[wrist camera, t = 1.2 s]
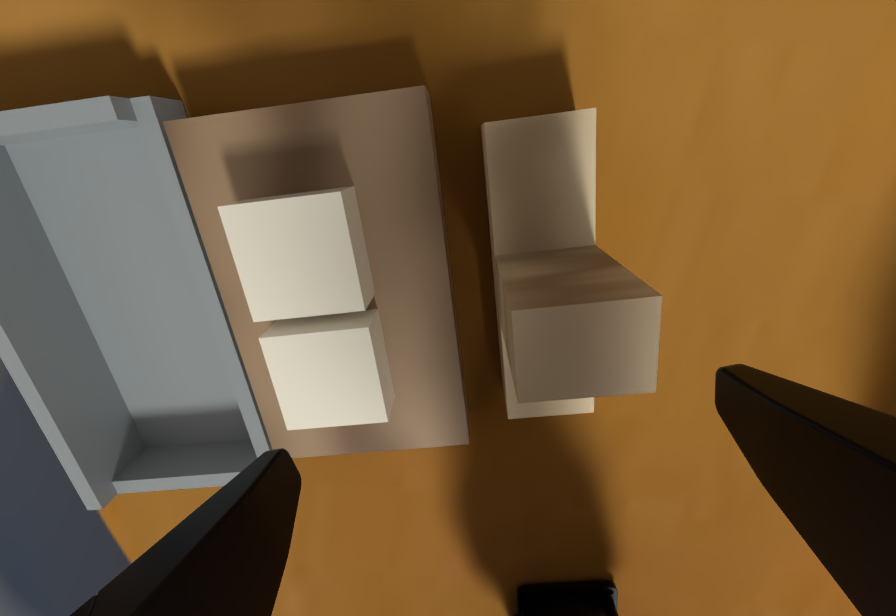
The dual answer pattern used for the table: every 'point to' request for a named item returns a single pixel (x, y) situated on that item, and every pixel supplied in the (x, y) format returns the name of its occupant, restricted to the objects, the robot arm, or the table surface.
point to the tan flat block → (386, 237)
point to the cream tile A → (300, 253)
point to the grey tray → (117, 303)
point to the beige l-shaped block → (560, 273)
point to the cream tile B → (329, 369)
